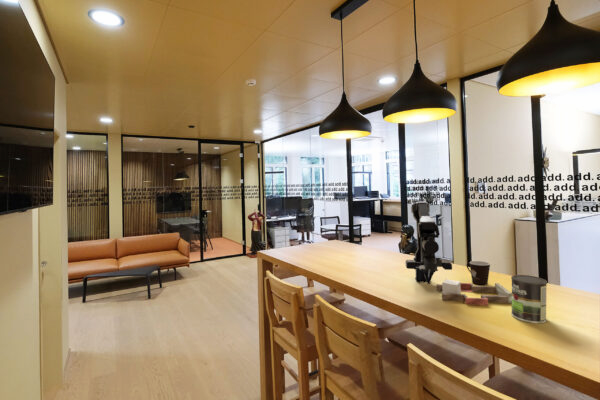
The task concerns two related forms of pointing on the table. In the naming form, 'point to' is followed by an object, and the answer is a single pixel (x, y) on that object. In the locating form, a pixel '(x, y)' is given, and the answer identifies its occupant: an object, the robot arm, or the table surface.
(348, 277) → the table surface
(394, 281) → the table surface
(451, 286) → the white cube
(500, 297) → the trap lane
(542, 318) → the coffee can
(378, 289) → the table surface
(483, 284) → the coffee mug
